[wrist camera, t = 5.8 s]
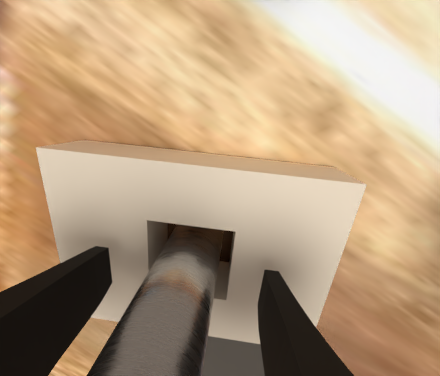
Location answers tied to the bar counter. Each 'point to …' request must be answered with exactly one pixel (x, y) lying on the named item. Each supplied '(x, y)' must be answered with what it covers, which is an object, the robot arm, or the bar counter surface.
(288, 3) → the bar counter surface
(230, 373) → the mat
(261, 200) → the block
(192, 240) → the peg
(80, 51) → the bar counter surface
